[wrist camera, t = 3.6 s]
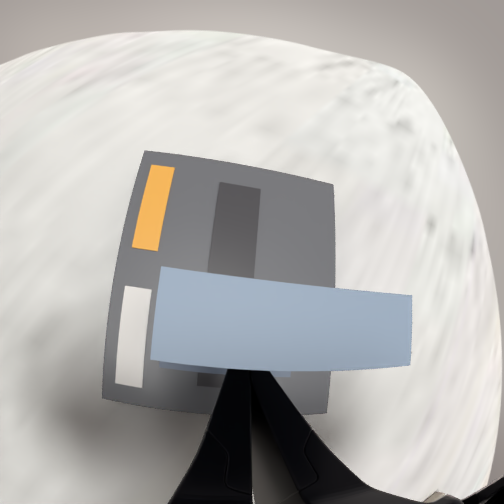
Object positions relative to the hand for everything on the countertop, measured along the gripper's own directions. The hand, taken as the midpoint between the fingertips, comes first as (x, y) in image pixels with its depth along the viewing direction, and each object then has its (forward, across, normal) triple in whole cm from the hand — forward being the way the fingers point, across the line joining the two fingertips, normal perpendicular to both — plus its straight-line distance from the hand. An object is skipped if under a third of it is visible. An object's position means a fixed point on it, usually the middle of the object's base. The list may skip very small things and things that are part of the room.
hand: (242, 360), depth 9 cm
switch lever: (+4, 0, +2) cm, 5 cm away
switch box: (+7, 0, +2) cm, 8 cm away
